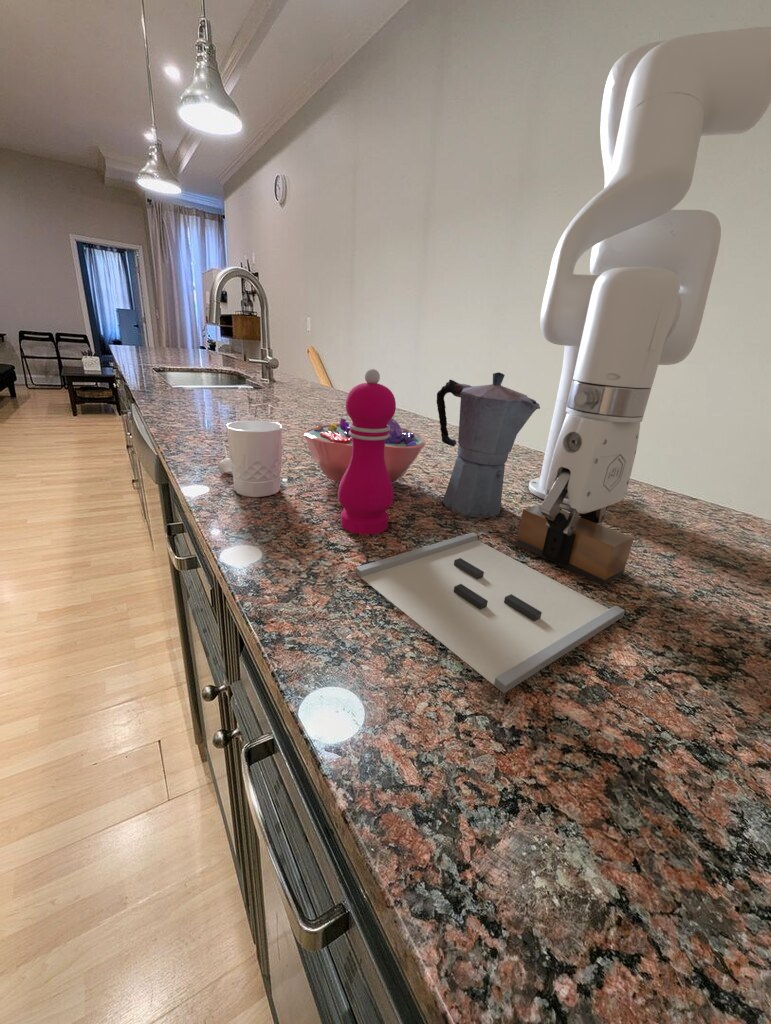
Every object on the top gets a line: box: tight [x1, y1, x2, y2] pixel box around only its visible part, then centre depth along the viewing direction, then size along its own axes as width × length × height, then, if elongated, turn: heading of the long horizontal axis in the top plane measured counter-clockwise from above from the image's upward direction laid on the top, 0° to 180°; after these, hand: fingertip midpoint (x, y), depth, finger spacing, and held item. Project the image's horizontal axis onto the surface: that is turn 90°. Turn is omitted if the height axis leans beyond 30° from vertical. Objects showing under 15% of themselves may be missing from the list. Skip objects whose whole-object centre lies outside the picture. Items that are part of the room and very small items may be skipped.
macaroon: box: [217, 457, 233, 475], centre depth 74 cm, size 4×5×2 cm
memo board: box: [355, 532, 626, 694], centre depth 45 cm, size 18×20×1 cm
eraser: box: [515, 503, 635, 587], centre depth 53 cm, size 4×12×5 cm, turn 37°
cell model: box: [302, 417, 427, 483], centre depth 74 cm, size 17×20×11 cm
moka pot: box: [436, 371, 541, 518], centre depth 64 cm, size 10×15×20 cm, turn 58°
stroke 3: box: [504, 594, 542, 621], centre depth 43 cm, size 4×1×1 cm, turn 37°
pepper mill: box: [337, 368, 397, 535], centre depth 55 cm, size 7×7×20 cm
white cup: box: [225, 419, 283, 498], centre depth 67 cm, size 8×8×10 cm
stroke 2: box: [454, 584, 488, 610], centre depth 44 cm, size 4×1×1 cm, turn 37°
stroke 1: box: [454, 558, 484, 579], centre depth 49 cm, size 4×1×1 cm, turn 37°
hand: (567, 554), depth 54 cm, fingers closed on eraser, 4 cm apart
